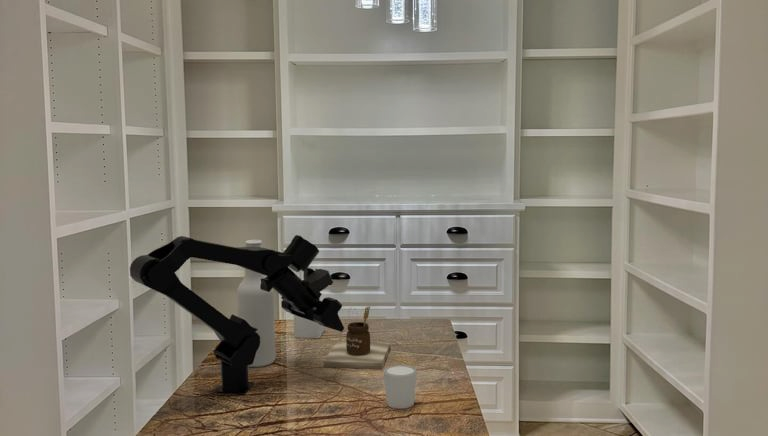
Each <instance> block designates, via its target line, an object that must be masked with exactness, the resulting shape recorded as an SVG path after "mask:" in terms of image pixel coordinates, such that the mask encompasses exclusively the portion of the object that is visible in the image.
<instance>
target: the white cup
mask: <svg viewBox="0 0 768 436" xmlns="http://www.w3.org/2000/svg"><path fill="white" fill-rule="evenodd" d="M417 372H418V370H417V368H415V367H414V366H413V367H412V366H409V365H404V364H403V365H401V364H400V365H399V364H398V365H390V366H387V367H386V368H384V369H383V379H384V391H385V399H386V405H387V407H389V408H392V409H400V410H401V409H408V408H411V407H413V406H414V405H415V397H416V387H417V386H416V385H417Z"/></svg>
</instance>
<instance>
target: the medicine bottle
mask: <svg viewBox="0 0 768 436" xmlns="http://www.w3.org/2000/svg"><path fill="white" fill-rule="evenodd" d="M320 298H321V297H320ZM320 298H318V299H317V300H320ZM320 301H321V300H320ZM324 332H325V327H324V326H322V325H319V323H317V322H314V321H311V320H308V319H305V318H302V317H299V316H296V315H293V335H294V336H293V337H294V338H295V339H320V338H321V336H322V335H323V334H324Z"/></svg>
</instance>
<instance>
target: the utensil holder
mask: <svg viewBox="0 0 768 436" xmlns="http://www.w3.org/2000/svg"><path fill="white" fill-rule="evenodd" d="M370 308H371V306H366V307H365V309H364V313H363V320H364V322H362V321H359V320H358V315H359V314H358V312H357V309H354V307H353V306H352V307H349V308H348V315H347V317H348V318H349V321H352V320H351V318H350V317H351V313H352V319H353V322H350V323H349V324H348V323H347V330H348V331H347V332H346V337H345V338H346V340H345V341H346V348H347V353H348V354H351V355H365V354H368V353H369V352H370V342H371V333H370V331H369V324H368V323H367V320H368V318H369V315H370ZM353 309H354V310H355V311H353ZM351 310H352V312H351V313H350V311H351ZM353 312H355V313H356V314H355V316H356V317H354V313H353ZM355 318H356V321H355Z"/></svg>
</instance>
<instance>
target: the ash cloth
mask: <svg viewBox="0 0 768 436" xmlns="http://www.w3.org/2000/svg"><path fill="white" fill-rule="evenodd" d="M390 350H391V342H381V341H380V342H379V341H378V342H377V341H376V342H375V341H370V352H369V353H368V354H365V355H351V354H348V353H347V348H346V340H345V341H343V340H342V341H341V340H337V341H336V343H334V345H333V346H332V348H331V349H330V351H329V352H328V353H327V355H326V357H325V358H324V360H323V368H333V367H336V368H337V369H339V368H340V369H363V370H366V369H367V370H383V367H384V365H385V362H386V360H387V357H388V355H389V353H390Z"/></svg>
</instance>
